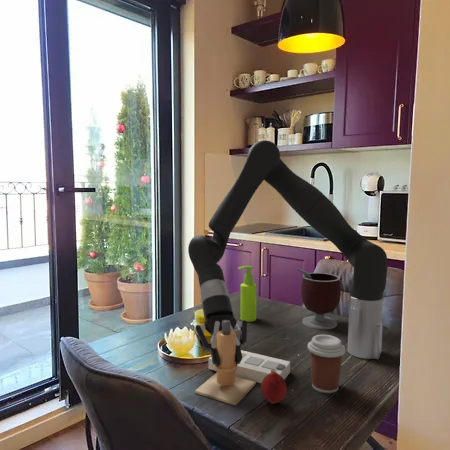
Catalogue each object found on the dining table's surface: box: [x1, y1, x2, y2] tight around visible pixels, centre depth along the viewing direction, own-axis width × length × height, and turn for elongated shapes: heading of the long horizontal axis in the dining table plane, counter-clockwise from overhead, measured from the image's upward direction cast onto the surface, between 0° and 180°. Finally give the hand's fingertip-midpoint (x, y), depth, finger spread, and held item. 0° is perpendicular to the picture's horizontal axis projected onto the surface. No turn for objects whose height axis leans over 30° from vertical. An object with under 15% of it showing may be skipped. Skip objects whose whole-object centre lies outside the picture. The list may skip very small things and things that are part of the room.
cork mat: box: [194, 372, 257, 406], centre depth 96 cm, size 11×11×1 cm
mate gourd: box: [296, 267, 342, 330], centre depth 140 cm, size 16×14×20 cm
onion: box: [260, 370, 288, 405], centre depth 89 cm, size 6×6×8 cm
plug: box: [215, 320, 237, 385], centre depth 95 cm, size 6×6×15 cm
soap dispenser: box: [237, 265, 257, 323], centre depth 144 cm, size 6×7×20 cm
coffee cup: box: [306, 334, 346, 394], centre depth 96 cm, size 9×9×12 cm
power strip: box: [208, 349, 291, 384], centre depth 105 cm, size 20×9×3 cm, turn 61°
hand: (228, 364), depth 93 cm, fingers closed on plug, 4 cm apart
